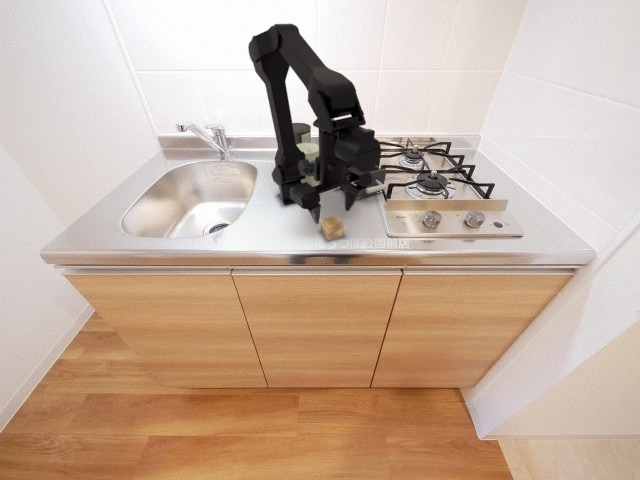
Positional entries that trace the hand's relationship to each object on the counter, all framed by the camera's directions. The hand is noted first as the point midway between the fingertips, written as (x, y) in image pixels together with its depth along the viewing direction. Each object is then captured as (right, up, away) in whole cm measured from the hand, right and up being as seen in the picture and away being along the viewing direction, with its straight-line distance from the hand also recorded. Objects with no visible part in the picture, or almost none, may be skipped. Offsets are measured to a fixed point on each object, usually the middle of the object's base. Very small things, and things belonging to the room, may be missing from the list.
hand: (332, 216), depth 61 cm
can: (-7, +14, +25) cm, 30 cm away
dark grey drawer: (+10, +10, +18) cm, 23 cm away
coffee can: (-11, +23, +35) cm, 43 cm away
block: (0, -4, +3) cm, 5 cm away
